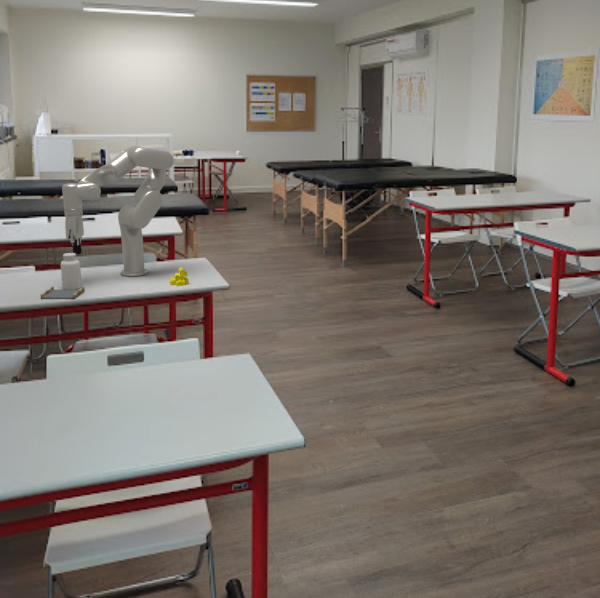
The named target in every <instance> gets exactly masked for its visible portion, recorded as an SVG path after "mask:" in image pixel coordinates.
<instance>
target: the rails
mask: <svg viewBox="0 0 600 598" xmlns="http://www.w3.org/2000/svg"><path fill="white" fill-rule="evenodd" d="M53 290H55V287H54V286H51V287H49V288H48V289H47V290H45V291H43V292H42V293H41V294H40V300H44V299H43V297H44V296H45V295H47V294H48V293H50V292H51V291H53ZM77 290H78V291H77V292H75V293H74V294H73V295H72V296H73V299H72V300H75V299H77V298H78V297H79V296H80V295H79V294H80V293H81V292H82V291H84V290H85V287H84V286H82V287H81V288H80V289H77ZM85 291H86V290H85ZM85 291H84V292H85ZM78 295H79V296H78ZM77 296H78V297H77ZM75 297H76V298H75ZM74 298H75V299H74Z"/></svg>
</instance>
